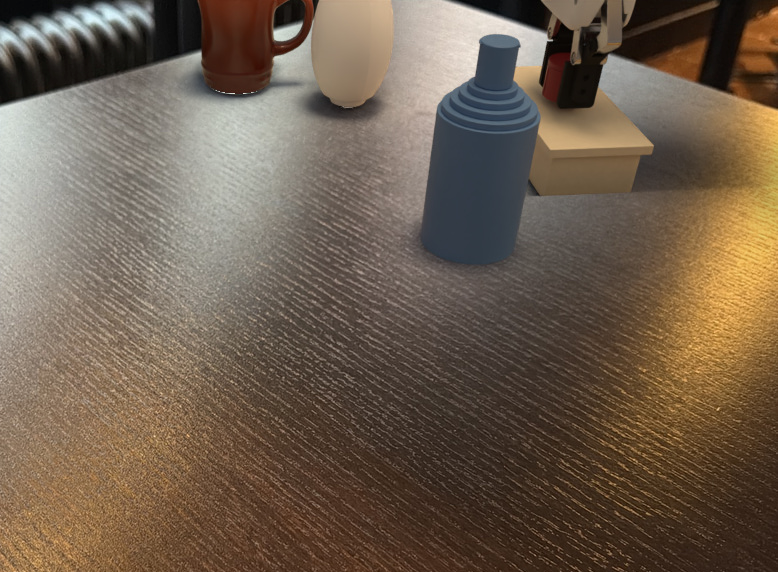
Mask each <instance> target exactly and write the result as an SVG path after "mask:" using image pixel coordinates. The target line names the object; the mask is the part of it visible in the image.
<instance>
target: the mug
mask: <svg viewBox="0 0 778 572" xmlns="http://www.w3.org/2000/svg"><path fill="white" fill-rule="evenodd" d="M196 1H197V4H198V8H199V12H200V20H201V36H200V37H201V38H200V46H201V47H200V52H201V53H200V54H201V60H200V65H201V68H202V71H201V72H202V76H203V80H204V83H205V84H206V85H207V86H208V88H210V89H212V90H213V89H214V90H217V91H220V92H225V93H235V94H243V93H251V92H256V91H259V90H261V91H262V90H264V89H265V88H267V87H268V86H269V85H270V83H271V81H272V76H273V72H274V69H273V68H274V66H275V59H274V58H275V57H280V56H284V55H286V54H289V53H291V52H292V51H294V50H296V49H298V48H299V47H301V45H303V44H304V43H305V41H306V40H307V38H308V36H309V34H310V31H311V30H312V27H313V21H314V15H315V12H314V10H315V9H314V3H313V0H301V1H302V2H303V4H304V14H303V20H302V23H301V27H300V29H299V31H298V32H297V34H295V36H293V37H292V38H289V39H285V40H276V39H275V34H274V21H275V12H276V10H277V8H278V7H281V5H283V4H284V3H287V2H288V1H289V0H196ZM263 88H264V89H263ZM214 90H213V91H214ZM217 91H216V92H217ZM259 92H260V91H259ZM256 93H257V92H256Z"/></svg>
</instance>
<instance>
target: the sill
mask: <svg viewBox="0 0 778 572" xmlns="http://www.w3.org/2000/svg"><path fill="white" fill-rule="evenodd" d="M541 68H542V65H524V66H523V65H522V66H521V65H520V66H519V65H518V66H516V68H515V73H514V79H513V80H514V81H515V82H516V83H517V84H518V86H519V87H521V88H522V89H523V90H524V92H525V93H526V94H527V95H528V96H529V97H530V98H531V99H532V100H533V101H534V102H535V103H536V105H537V107H538V111H539V112H540V115H541V119H540V124H539V129H538V134H537V139H536V144H535V149H534V154H533V159H532V164H531V169H530V174H529V179H528V181H529V182H530V183H531V184H532V186H533V187H534V189H535V191H536V192H537V193H538V195H539V197H554V196H556V197H557V196H577V195H578V196H579V195H600V194H602V195H603V194H626V193H631V192H632V190H633V189H632V188H633V185H634V181H635V177H636V174H637V171H638V167H639V164H640V160H641V156H646V155H647V156H648V155H649V156H651V155H653V151H654V147H655V145H654V144H653V143H652V142H651V141H650V139H649V138H647V137H646V135H645V134H643V132H642V131H641V129H639V128H638V127H637V126H636V125H635V124H634V122H633V121H631V119H630V118H629V117H628V116H626V114H625V113H624V112H623V111H622V110H621V109H620V108H619V107H618V106H617V104H615V102H614V101H613V100H611V98H610V97H609V96H608V95H607V94H606V93H605V92H604V90H603V89H601V88H600V86H598V90H597V94H596V98H595V102H594V105H593V106H592V107H591V108H571V109H560V108H559V107H558V106H557V104H556V102H552V101H550V100H548V99H546V98H545V97H544V96H543V95H542V90H543V87H542V86H541V85H540V84H539V78H540V73H541Z"/></svg>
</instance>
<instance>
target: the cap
mask: <svg viewBox="0 0 778 572" xmlns="http://www.w3.org/2000/svg"><path fill="white" fill-rule="evenodd" d="M570 57H571V53H556V54H553V55H551V56H550V57H549V60H548V65H547V70H546V75H545V80H544V85H543V90H542V95H543V96H544V97H545V98H546V99H548V100H550V101H552V102H556V101H557V97H558V92H559V87H560V83H561V78H562V73H563V69H564V64H565V61H570Z"/></svg>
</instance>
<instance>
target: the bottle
mask: <svg viewBox="0 0 778 572" xmlns="http://www.w3.org/2000/svg"><path fill="white" fill-rule="evenodd" d="M478 44H479V48H478V52H477V53H478V54H477V60H476V67H475V73H474V76H472V77H470V78H469V79H468V80H467V81H464V82H463V83H462V84H460V85H459V86H457V87H454V89H453V90H452V91H449V92H447V93H446V94H445V95H444V96H443V97H442V99H441V100H440V102H438V104H437V106H436V112H435V120H434V128H433V134H432V142H431V150H430V156H429V157H430V158H429V166H428V173H427V179H426V180H427V182H426V187H425V195H424V203H423V211H422V219H421V226H420V233H419V237H420V242H421V244H422V246H423V247H424V248H425V250H427V251H428V252H430V253H431V254H433V255H434V256H436V257H438V258H441V259H443V260H446V261H449V262H452V263H457V264H461V265H471V266H474V265H475V266H476V265H478V266H479V265H488V264H495V263H498V262H500V261H503V260H505V259H507V258H508V257H509V256H511V255H512V254H513V252H514V251H515V248H516V244H517V240H518V239H517V238H518V234H519V228H520V224H521V219H522V213H523V208H524V204H525V198H526V193H527V187H528V183H529V174H530V169H531V164H532V159H533V154H534V149H535V144H536V139H537V134H538V129H539V124H540V119H541V115H540V112H539V111H538V107H537V105H536V103H535V102H534V101H533V100H532V99H531V98H530V97H529V96H528V95H527V94H526V93H525V92H524V90H523V89H522V88H521V87H519V86H518V84H517V83H516V82H515V81H514V80H513V79H514V73H515V68H516V67H517V61H518V56H519V50H520V49H521V47H522V45H521V42H520V40H519V39H518V38H517V37H514V36H512V35H508V34H503V33H492V34H491V33H490V34H486V35H483V36H482V37H480V38H479V39H478Z"/></svg>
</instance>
